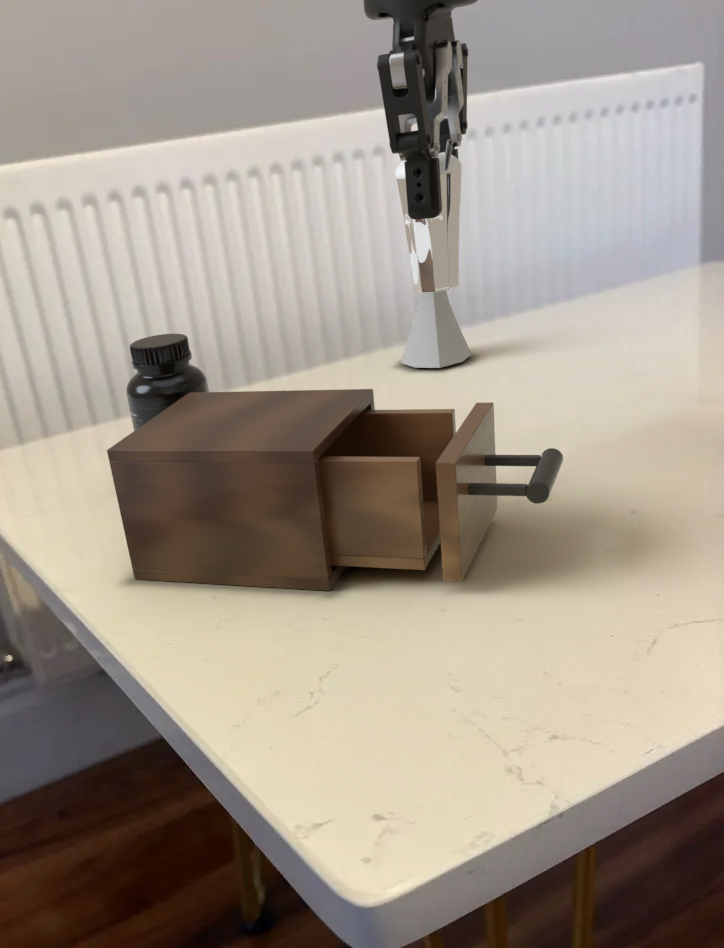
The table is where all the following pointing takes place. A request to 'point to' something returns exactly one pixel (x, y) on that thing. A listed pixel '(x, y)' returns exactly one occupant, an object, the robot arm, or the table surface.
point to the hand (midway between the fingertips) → (435, 210)
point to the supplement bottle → (161, 376)
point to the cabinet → (233, 487)
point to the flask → (434, 334)
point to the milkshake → (435, 230)
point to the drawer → (419, 488)
